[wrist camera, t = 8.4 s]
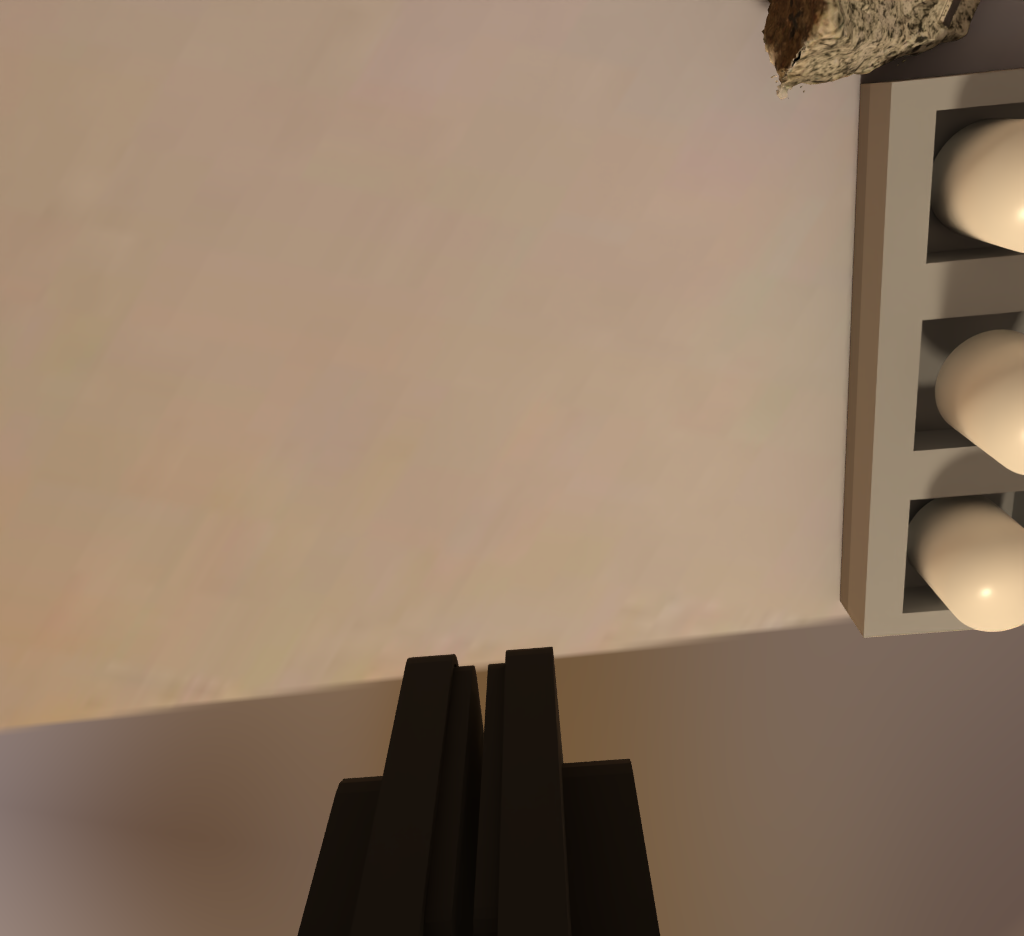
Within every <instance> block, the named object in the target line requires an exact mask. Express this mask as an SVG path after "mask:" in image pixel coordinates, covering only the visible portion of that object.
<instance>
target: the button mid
mask: <svg viewBox="0 0 1024 936" xmlns="http://www.w3.org/2000/svg"><path fill="white" fill-rule="evenodd" d="M935 400H936V404H937V408H938V410H939V412H940V414H941V416H942V417H943V419H944V420H945V421H946V422H947V423H948V424H949V425H950V426H951V427H953V428H954V429H955V430H957V431H958V432H959V433H961V434H962V435H963V436H965V437H966V438H967V439H969V440H970V441H971V442H973V443H974V444H975V445H977V446H978V447H979V448H980V449H982V450H983V451H984V452H986V453H987V454H988V455H990V456H991V457H992V458H994V459H995V460H996V461H998V462H999V463H1000V464H1002V465H1003V466H1004V467H1006V468H1007V469H1009V470H1011V471H1013V472H1015V473H1018V474H1021V475H1024V334H1022V333H1019V332H1016V331H1012V330H1004V329H1001V330H991V331H986V332H983V333H980V334H977V335H975V336H973V337H971V338H969V339H967V340H966V341H964V342H963V343H961V344H960V345H959V346H958V347H957V348H955V349H954V350H953V351H952V353H951V354H950V355H949V356H948V357H947V359H946V360H945V361H944V363H943V365H942V367H941V369H940V371H939V373H938V376H937V380H936V385H935Z"/></svg>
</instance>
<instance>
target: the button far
mask: <svg viewBox="0 0 1024 936" xmlns="http://www.w3.org/2000/svg"><path fill="white" fill-rule="evenodd" d="M906 554H907V557H908V559H909V561H910V563H911V564H912V566H913V567H914V568H915V569H916V571H917V572H918V573H919V574H920V575H921V576H922V578H923V579H924V580H925V581H926V582H927V584H928V585H929V586H930V587H931V588H932V590H933V591H934V592H935V593H936V594H937V595H938V597H939V598H940V599H941V600H942V601H943V603H944V604H945V605H946V606H947V607H948V608H949V610H950V611H951V612H952V613H953V614H954V616H955V617H956V618H957V619H958V620H959V621H961V622H962V623H963V624H965V625H967V626H969V627H971V628H973V629H977V630H981V631H988V632H996V631H1004V630H1008V629H1012V628H1015V627H1018V626H1020V625H1022V624H1024V528H1023V527H1022V526H1021V525H1020V524H1018V523H1017V522H1016V521H1015V520H1014V519H1012V518H1011V517H1010V516H1009V515H1008V514H1007V513H1005V512H1004V511H1003V510H1002V509H1001V508H999V507H998V506H997V505H996V504H995V503H994V502H992V501H991V500H990V499H988V498H986V497H985V496H982V495H980V494H979V495H966V496H954V497H941V498H936V499H934V500H932V501H930V502H929V503H927V504H926V505H925V506H924V507H922V508H921V509H920V510H919V511H918V512H917V514H916V515H915V516H914V517H913V519H912V521H911V522H910V524H909V527H908V538H907V553H906Z"/></svg>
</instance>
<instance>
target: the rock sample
mask: <svg viewBox="0 0 1024 936" xmlns="http://www.w3.org/2000/svg"><path fill="white" fill-rule="evenodd" d="M768 1H769V2H770V3H771V4H770V6H769V8H768V13H769V14H768V16H767V19H766V24H765V28H764V30H763V31H762V32H763V34H764V39H763V40H764V43H765V50H766V52H768V53H769V56H770V62H771V63H772V64H773V65H774V66H775V68H776V71H777V73H778V75H779V80H780V82H781V85H779V86H777V88H778V90H776V92H777V96H778V97H779V98H780V99H781V100H782V99H784V98H786V97H787V91H788V89H791V88H792V87H793V86H795V85H797V84H799V83H806V84H810V85H811V84H819V83H826V82H829V81H831V82H832V81H835V80H837V79H840V78H843V77H848V76H850V75H852V74H853V73H854V74H867V73H870V72H871V71H872V70H874V69H875V68H878V67H880V66H882V65H884V64H886V63H888V62H891V61H893V60H895V59H897V58H899V57H902V56H904V55H917V54H919V53H922V52H924V51H926V50H929V49H932V48H933V47H935V46H936V45H938V44H939V43H943V42H950V41H955V40H958V39H961V38H962V37H964V36H965V35H966V34H967V32H968V29H969V25H970V22H971V19H972V17H973V15H974V13H975V11H976V9H977V7H978V5H979V3H980V0H768ZM904 61H906V60H902V62H904ZM898 65H899V64H898ZM898 65H897V66H898ZM774 76H775V75H774ZM774 76H772V77H771V78H773V77H774ZM776 76H777V75H776ZM776 76H775V77H776ZM776 82H777V81H776ZM801 87H802V86H801ZM803 92H805V91H803Z"/></svg>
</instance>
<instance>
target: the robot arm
mask: <svg viewBox="0 0 1024 936" xmlns="http://www.w3.org/2000/svg"><path fill="white" fill-rule="evenodd" d="M298 936H660V933H659V926H658V921H657V915H656V908H655V902H654V896H653V890H652V884H651V878H650V872H649V866H648V860H647V854H646V848H645V843H644V836H643V830H642V824H641V818H640V812H639V806H638V800H637V795H636V788H635V782H634V776H633V770H632V765H631V761H630V759H619V760H606V761H591V762H578V763H563V754H562V743H561V733H560V721H559V710H558V699H557V688H556V678H555V666H554V655H553V647H544V648H531V649H518V650H506V657H505V663H500V664H489V665H488V676H487V693H486V710H485V726H484V731H483V723H482V715H481V708H480V699H479V692H478V683H477V676H476V670H475V667H474V666H460V667H459V666H458V661H457V657H456V655H455V654H451V655H438V656H425V657H412V658H408V659H407V662H406V666H405V671H404V676H403V681H402V686H401V690H400V696H399V700H398V705H397V710H396V715H395V720H394V725H393V730H392V734H391V739H390V744H389V749H388V754H387V758H386V763H385V769H384V773H383V776H377V777H364V778H348V779H343V781H341V782H340V783H339V786H338V789H337V791H336V795H335V798H334V802H333V806H332V809H331V813H330V817H329V820H328V824H327V828H326V832H325V835H324V839H323V843H322V847H321V851H320V854H319V858H318V861H317V865H316V869H315V873H314V876H313V880H312V884H311V887H310V891H309V895H308V899H307V903H306V906H305V910H304V913H303V917H302V921H301V925H300V928H299V932H298Z"/></svg>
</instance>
